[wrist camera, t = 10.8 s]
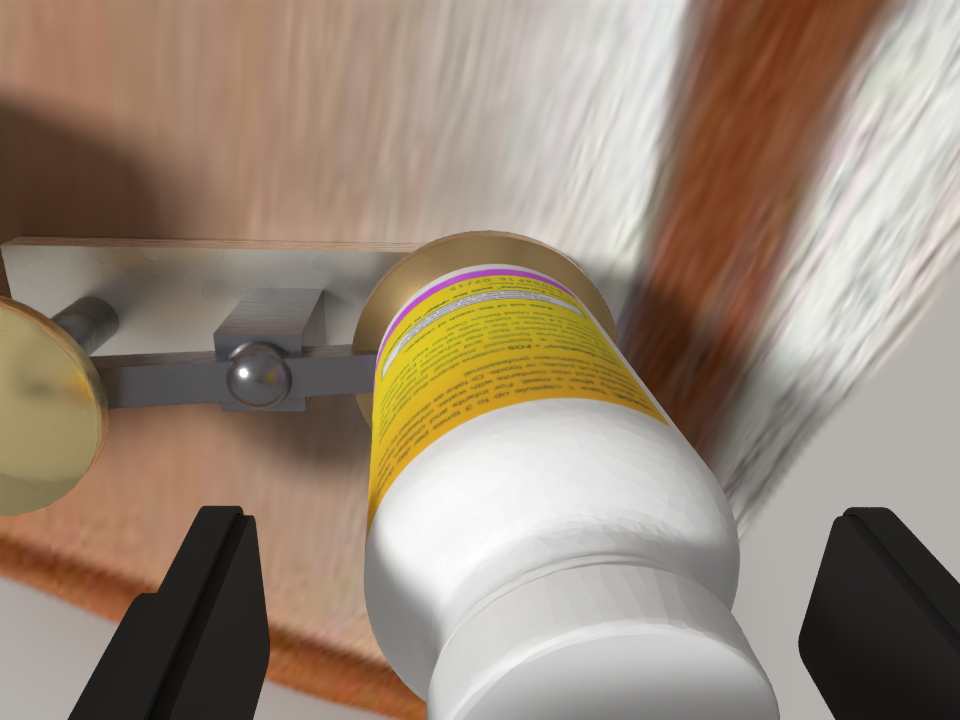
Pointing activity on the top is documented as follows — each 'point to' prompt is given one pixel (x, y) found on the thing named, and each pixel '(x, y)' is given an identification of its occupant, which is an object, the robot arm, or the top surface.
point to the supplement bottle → (544, 520)
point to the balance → (205, 332)
